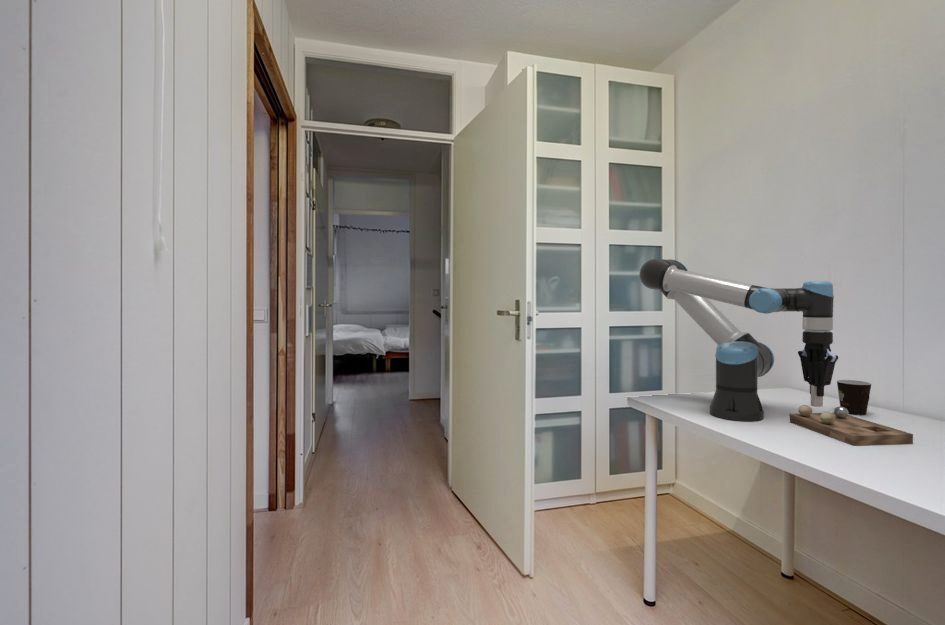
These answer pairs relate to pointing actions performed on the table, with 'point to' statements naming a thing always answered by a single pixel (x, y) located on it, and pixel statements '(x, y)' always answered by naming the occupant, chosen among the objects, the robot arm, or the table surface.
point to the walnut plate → (853, 430)
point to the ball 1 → (805, 410)
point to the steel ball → (841, 412)
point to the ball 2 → (827, 417)
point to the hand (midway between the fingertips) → (816, 406)
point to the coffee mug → (854, 395)
